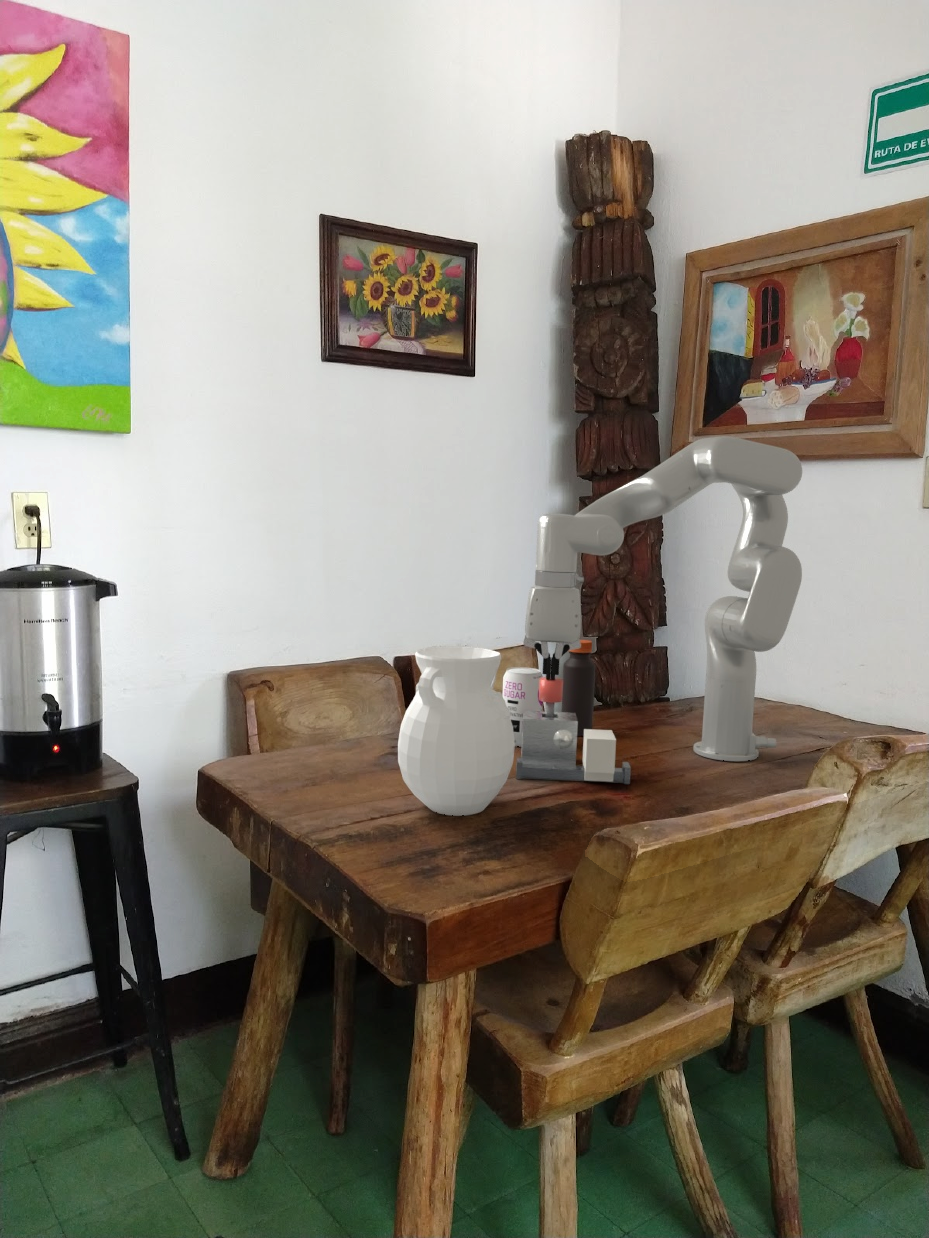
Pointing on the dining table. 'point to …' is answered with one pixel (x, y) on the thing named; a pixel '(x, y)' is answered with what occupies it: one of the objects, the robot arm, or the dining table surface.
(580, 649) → the bottle
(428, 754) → the pitcher
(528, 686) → the supplement can
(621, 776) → the rail
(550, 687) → the button
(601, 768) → the carriage
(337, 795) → the dining table surface
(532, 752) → the grey box
